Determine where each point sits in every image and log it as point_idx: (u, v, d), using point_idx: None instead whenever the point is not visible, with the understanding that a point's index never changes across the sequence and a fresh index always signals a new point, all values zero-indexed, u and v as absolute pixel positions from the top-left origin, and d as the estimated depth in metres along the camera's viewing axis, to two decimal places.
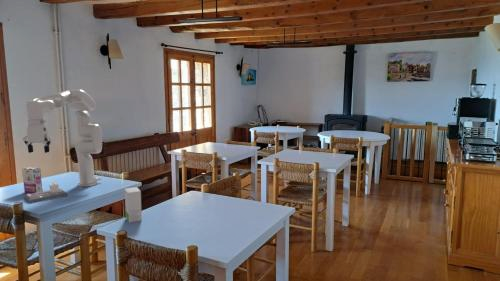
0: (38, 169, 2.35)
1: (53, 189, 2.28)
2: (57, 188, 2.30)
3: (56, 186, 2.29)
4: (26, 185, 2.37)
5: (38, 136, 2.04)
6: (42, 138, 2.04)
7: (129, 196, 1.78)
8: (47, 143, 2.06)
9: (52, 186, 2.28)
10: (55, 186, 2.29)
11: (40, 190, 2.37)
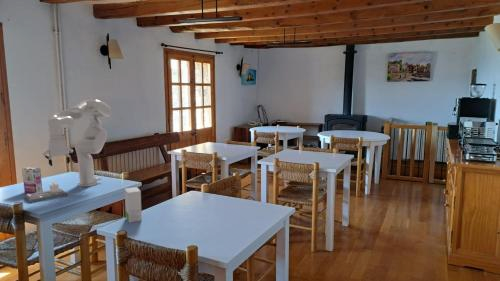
0: (38, 169, 2.35)
1: (53, 189, 2.28)
2: (57, 188, 2.30)
3: (56, 186, 2.29)
4: (26, 185, 2.37)
5: (63, 149, 2.27)
6: (66, 150, 2.29)
7: (129, 196, 1.78)
8: (69, 155, 2.31)
9: (52, 186, 2.28)
10: (55, 186, 2.29)
11: (40, 190, 2.37)
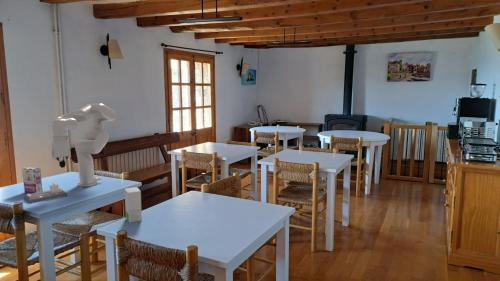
0: (38, 169, 2.35)
1: (53, 189, 2.28)
2: (57, 188, 2.30)
3: (56, 186, 2.29)
4: (26, 185, 2.37)
5: (66, 150, 2.31)
6: (69, 152, 2.33)
7: (129, 196, 1.78)
8: None
9: (52, 186, 2.28)
10: (55, 186, 2.29)
11: (40, 190, 2.37)
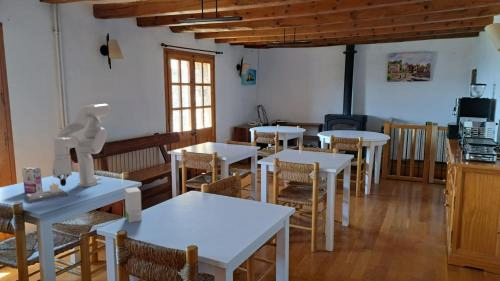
0: (38, 169, 2.35)
1: (53, 189, 2.28)
2: (57, 188, 2.30)
3: (56, 186, 2.29)
4: (26, 185, 2.37)
5: (67, 169, 2.32)
6: (70, 170, 2.34)
7: (129, 196, 1.78)
8: (66, 178, 2.34)
9: (52, 186, 2.28)
10: (55, 186, 2.29)
11: (40, 190, 2.37)
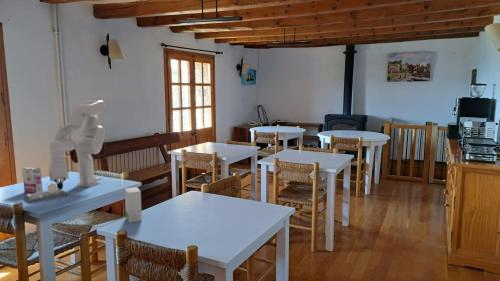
0: (38, 169, 2.35)
1: (51, 189, 2.27)
2: (55, 188, 2.29)
3: (54, 186, 2.28)
4: (26, 185, 2.37)
5: (63, 172, 2.31)
6: (67, 173, 2.33)
7: (129, 196, 1.78)
8: (63, 181, 2.33)
9: (50, 186, 2.27)
10: (53, 186, 2.28)
11: (40, 190, 2.37)
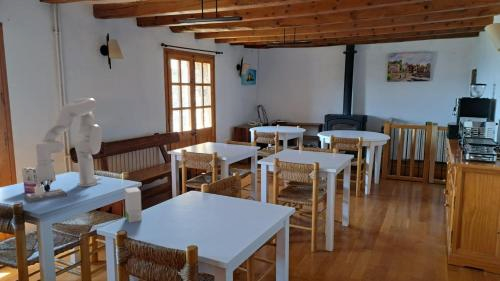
0: None
1: (38, 192, 2.22)
2: (42, 191, 2.24)
3: (41, 189, 2.23)
4: (26, 185, 2.37)
5: (50, 174, 2.26)
6: (54, 175, 2.28)
7: (129, 196, 1.78)
8: (50, 183, 2.28)
9: (37, 189, 2.22)
10: (40, 189, 2.23)
11: None
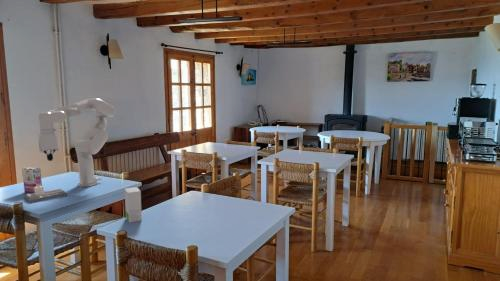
0: (38, 169, 2.35)
1: (37, 192, 2.22)
2: (42, 191, 2.24)
3: (41, 189, 2.23)
4: (26, 185, 2.37)
5: (53, 143, 2.29)
6: (57, 145, 2.31)
7: (129, 196, 1.78)
8: None
9: (37, 189, 2.22)
10: (40, 189, 2.23)
11: None
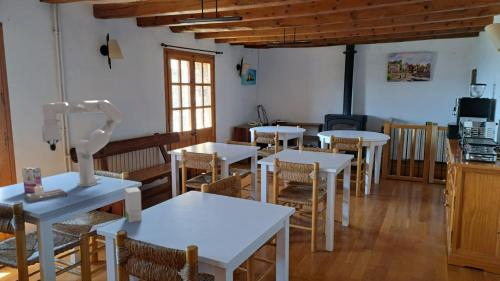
0: (38, 169, 2.35)
1: (37, 192, 2.22)
2: (42, 191, 2.24)
3: (41, 189, 2.23)
4: (26, 185, 2.37)
5: (56, 134, 2.35)
6: (60, 135, 2.37)
7: (129, 196, 1.78)
8: None
9: (37, 189, 2.22)
10: (40, 189, 2.23)
11: None
